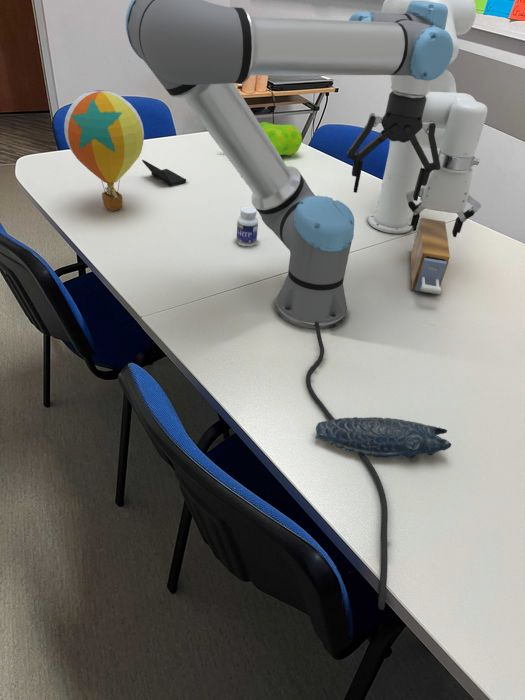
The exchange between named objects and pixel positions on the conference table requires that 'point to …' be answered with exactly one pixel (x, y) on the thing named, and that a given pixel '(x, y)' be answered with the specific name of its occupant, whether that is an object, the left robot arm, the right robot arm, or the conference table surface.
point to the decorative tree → (283, 137)
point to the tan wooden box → (428, 246)
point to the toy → (105, 138)
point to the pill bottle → (247, 227)
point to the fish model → (382, 436)
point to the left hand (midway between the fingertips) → (385, 194)
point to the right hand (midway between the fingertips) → (434, 231)
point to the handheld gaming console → (165, 175)
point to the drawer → (430, 275)
